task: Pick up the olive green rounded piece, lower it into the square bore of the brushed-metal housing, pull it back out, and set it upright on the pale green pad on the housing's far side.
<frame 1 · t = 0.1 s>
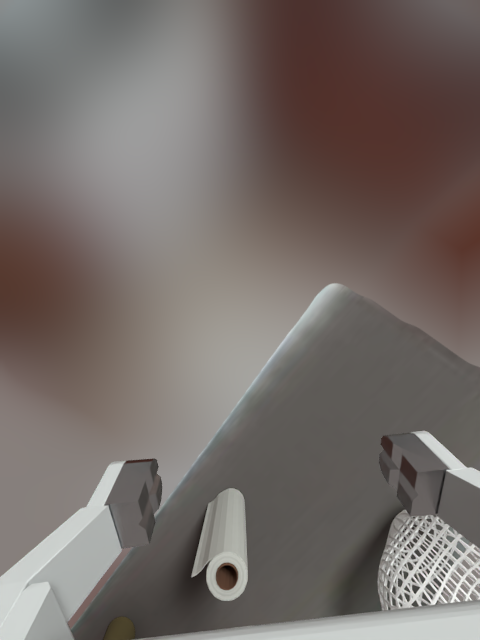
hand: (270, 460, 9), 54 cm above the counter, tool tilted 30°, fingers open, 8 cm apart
paper towel roll: (229, 500, 57), on the counter
olive green rounded piece: (121, 633, 52), on the counter
heart: (397, 520, 57), on the counter
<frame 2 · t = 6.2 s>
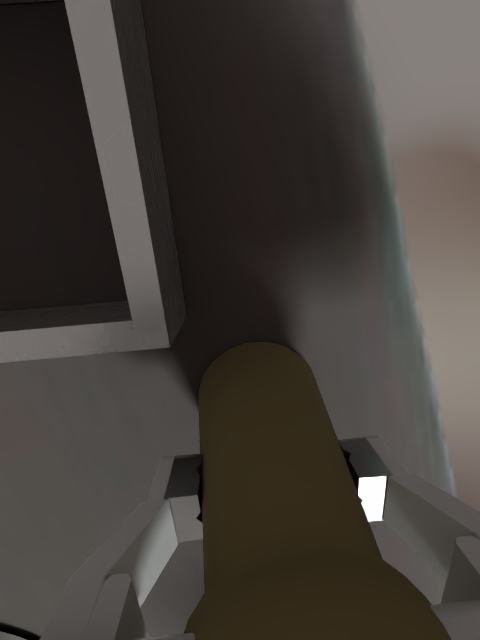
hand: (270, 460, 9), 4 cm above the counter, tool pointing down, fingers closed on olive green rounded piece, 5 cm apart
metal housing: (6, 179, 10), on the counter
olive green rounded piece: (257, 394, 13), on the counter, touching gripper
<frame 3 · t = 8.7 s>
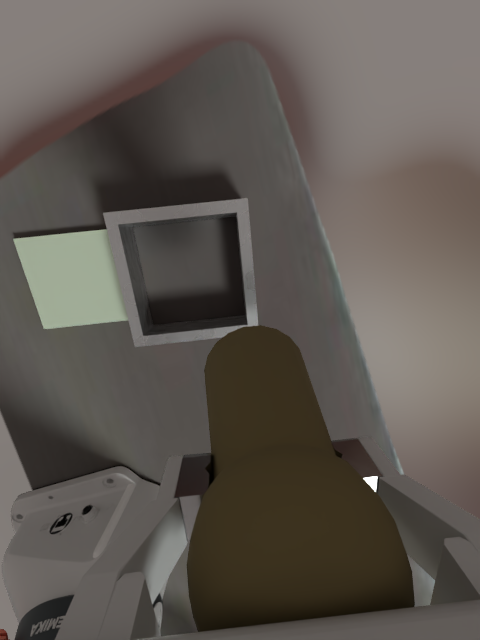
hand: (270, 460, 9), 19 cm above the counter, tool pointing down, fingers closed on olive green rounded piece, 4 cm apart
metal housing: (192, 273, 26), on the counter
green pad: (78, 280, 26), on the counter
olive green rounded piece: (254, 371, 15), point 13 cm above the counter, touching gripper
when the fingers open (6 cm above the counter, at t = 11.5 s): olive green rounded piece stays where it is, resting in metal housing.
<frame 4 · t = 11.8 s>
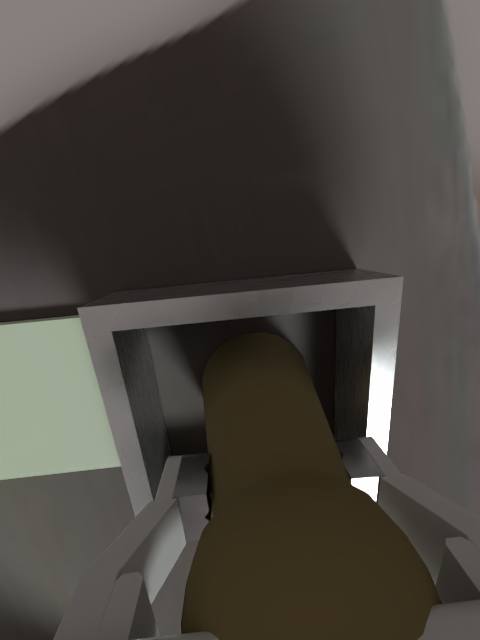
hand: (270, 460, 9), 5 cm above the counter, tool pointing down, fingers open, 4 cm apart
metal housing: (247, 385, 14), on the counter
green pad: (38, 399, 14), on the counter
olive green rounded piece: (255, 380, 15), resting in metal housing, touching gripper
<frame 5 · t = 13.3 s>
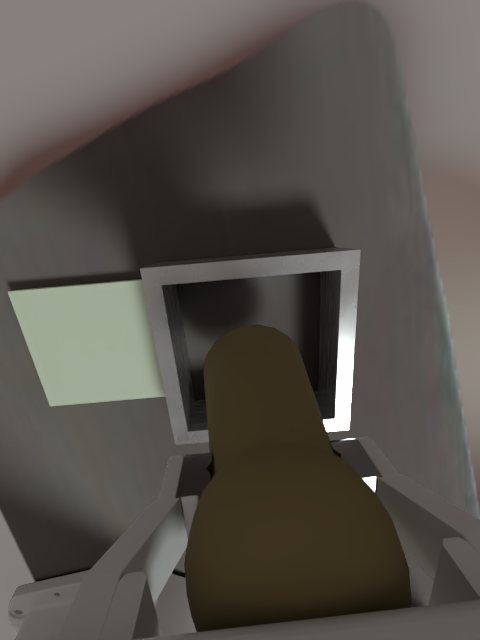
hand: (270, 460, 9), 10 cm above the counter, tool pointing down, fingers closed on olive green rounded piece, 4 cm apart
metal housing: (252, 337, 19), on the counter
green pad: (97, 344, 19), on the counter
olive green rounded piece: (253, 370, 15), point 4 cm above the counter, touching gripper
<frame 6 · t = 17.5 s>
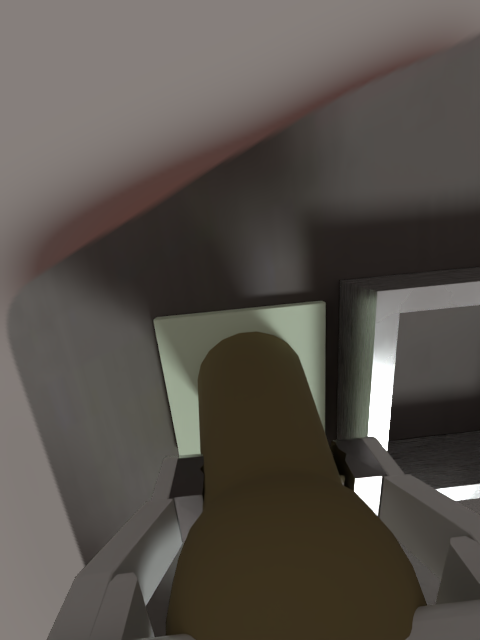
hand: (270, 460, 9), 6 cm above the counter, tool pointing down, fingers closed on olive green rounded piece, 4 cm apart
metal housing: (434, 369, 15), on the counter
green pad: (246, 382, 15), on the counter
olive green rounded piece: (251, 380, 14), resting on green pad, touching gripper
when the fingers open (5 cm above the counter, at t = 18.1 s): olive green rounded piece stays where it is, resting on green pad.
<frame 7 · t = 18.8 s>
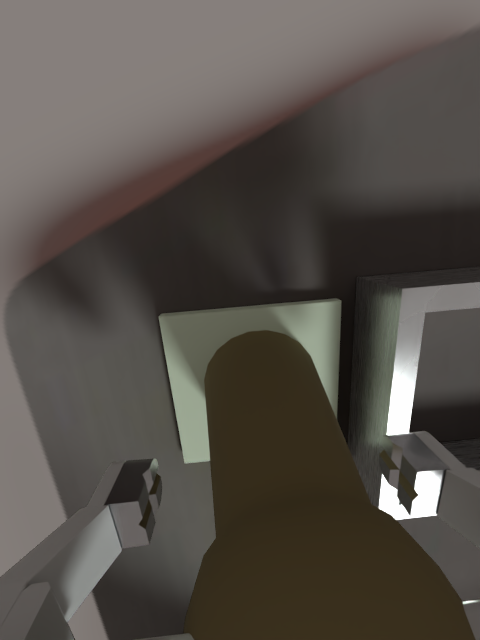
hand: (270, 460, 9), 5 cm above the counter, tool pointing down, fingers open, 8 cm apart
metal housing: (453, 372, 15), on the counter
green pad: (255, 383, 14), on the counter
olive green rounded piece: (260, 381, 14), resting on green pad
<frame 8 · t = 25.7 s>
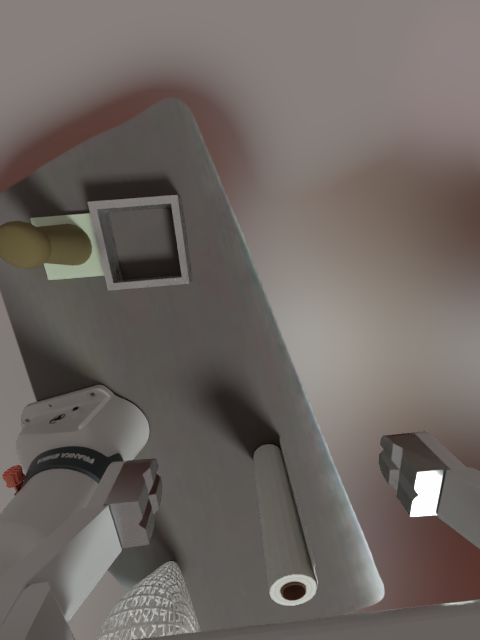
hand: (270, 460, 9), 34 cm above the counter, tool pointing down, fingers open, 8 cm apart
metal housing: (148, 244, 39), on the counter
green pad: (72, 247, 39), on the counter
paper towel roll: (270, 453, 52), on the counter
olive green rounded piece: (71, 245, 38), resting on green pad
heart: (173, 562, 60), on the counter
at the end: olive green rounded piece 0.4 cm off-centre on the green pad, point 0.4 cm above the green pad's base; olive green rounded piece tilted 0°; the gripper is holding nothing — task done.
